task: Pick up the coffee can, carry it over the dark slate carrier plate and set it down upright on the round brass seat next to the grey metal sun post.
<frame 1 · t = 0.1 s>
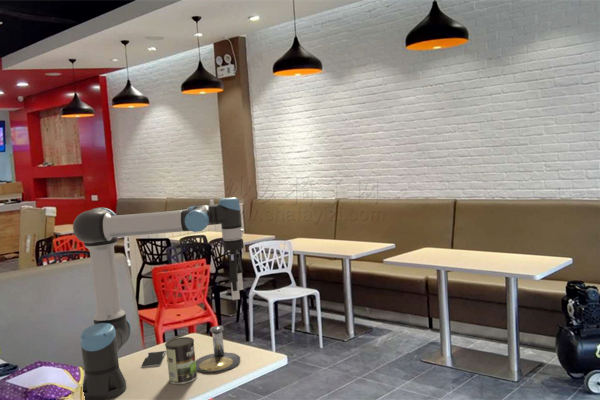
hand: (238, 294, 207), 28 cm above the table, fingers open, 13 cm apart
coffee can: (183, 379, 202), on the table
smartphone: (154, 361, 224), on the table
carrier: (217, 363, 214), on the table
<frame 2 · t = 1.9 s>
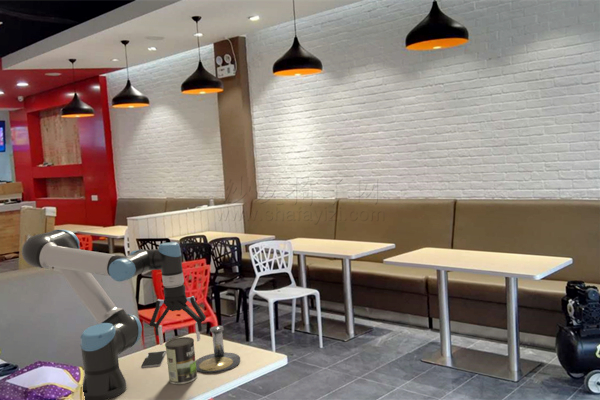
hand: (180, 342, 201), 14 cm above the table, fingers open, 13 cm apart
nothing on the table moved.
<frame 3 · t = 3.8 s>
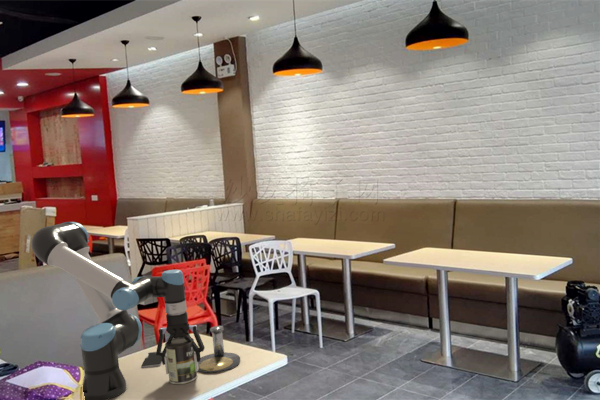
hand: (182, 371, 202), 3 cm above the table, fingers closed on coffee can, 10 cm apart
coffee can: (183, 379, 202), on the table, touching gripper
everything else where it was.
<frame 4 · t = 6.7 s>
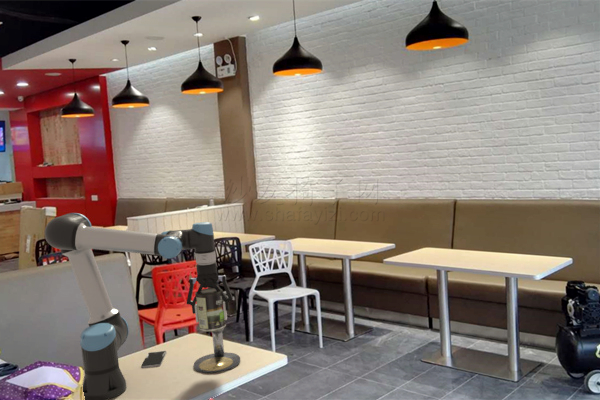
hand: (211, 320, 210), 18 cm above the table, fingers closed on coffee can, 10 cm apart
coffee can: (212, 327, 210), point 15 cm above the table, touching gripper
everything else where it was.
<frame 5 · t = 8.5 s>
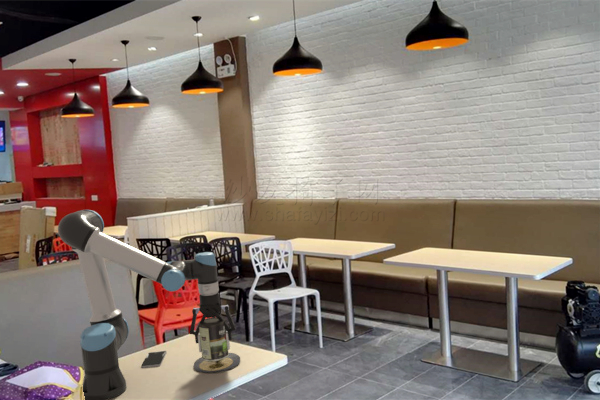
hand: (214, 349, 211), 7 cm above the table, fingers closed on coffee can, 10 cm apart
coffee can: (215, 357, 211), point 4 cm above the table, touching gripper
everything else where it was.
when the fingers open (5 cm above the table, at t = 9.9 s): coffee can drops 1 cm, resting on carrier.
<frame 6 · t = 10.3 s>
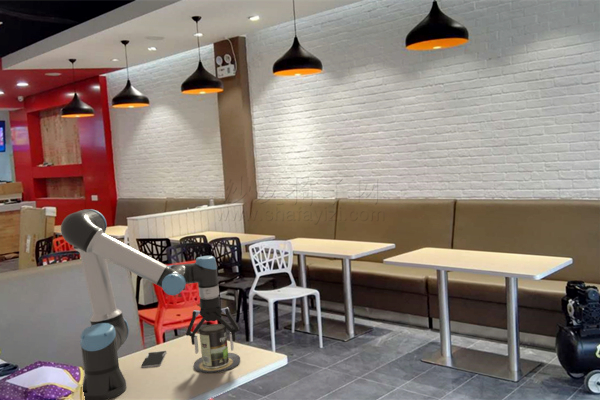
hand: (214, 350, 211), 6 cm above the table, fingers open, 13 cm apart
coffee can: (215, 364, 211), point 1 cm above the table, touching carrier
everything else where it was.
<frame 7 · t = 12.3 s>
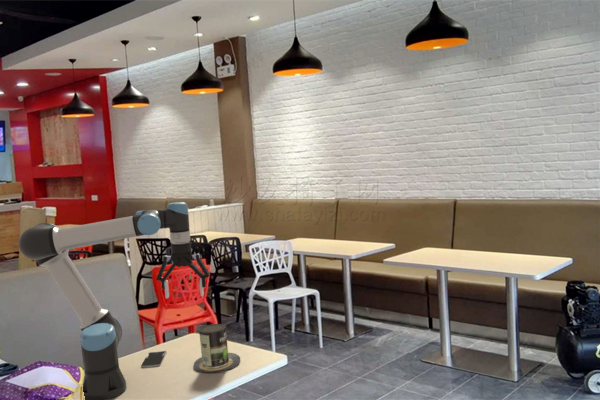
hand: (184, 296, 213), 27 cm above the table, fingers open, 13 cm apart
nothing on the table moved.
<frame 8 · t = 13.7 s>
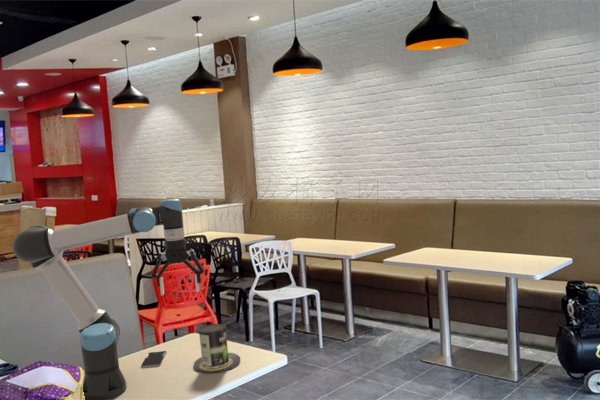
hand: (180, 293, 214), 29 cm above the table, fingers open, 13 cm apart
nothing on the table moved.
at the end: coffee can inside the target area on the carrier (0.1 cm from its centre), point 1.0 cm above the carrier's base; coffee can tilted 1°; the gripper is holding nothing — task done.
